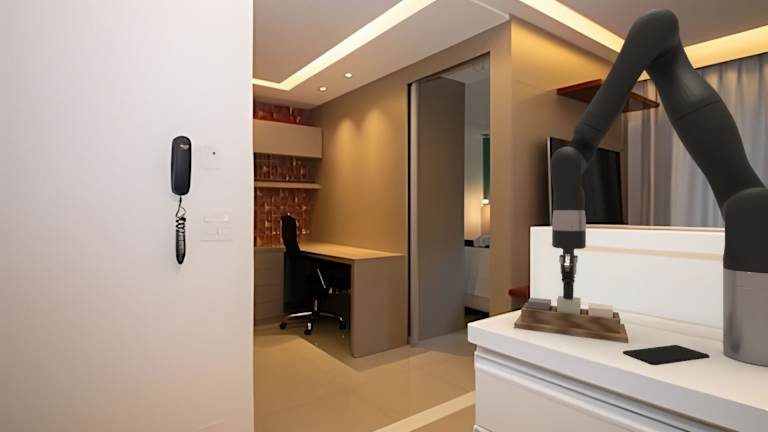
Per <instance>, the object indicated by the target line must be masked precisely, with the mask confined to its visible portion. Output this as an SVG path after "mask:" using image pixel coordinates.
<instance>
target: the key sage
mask: <svg viewBox="0 0 768 432" xmlns="http://www.w3.org/2000/svg"><path fill="white" fill-rule="evenodd" d="M556 306H557V312H561V313H571V314H580V315H581V309H582V308H581V307H582V305H581V297H577V296H576V297H575V296H573V299H564V298H563V295H558V296H557V298H556Z"/></svg>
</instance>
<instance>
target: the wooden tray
mask: <svg viewBox="0 0 768 432" xmlns="http://www.w3.org/2000/svg"><path fill="white" fill-rule="evenodd" d="M513 325H514V327H513V328H515V329H519V330H520V329H521V330H528V331H535V332H541V333H542V332H544V333H552V334H559V335H563V336H564V335H565V336H574V337H580V338H588V339H595V340H604V341H611V342H619V343H625V344H628V343H629V337H628V333H627V329H626V327H625V326H626V325H625V323H621V316H620V313H619V311H617V312H616V311H613V318H607V317H598V316H589V315H588V308H581V315H580V314H571V313H561V312H557V305H551V311H543V310H534V309H528V302H525V304H524V305H523V306H521V309H520V315H519V316H518V317H517V319H516V320H515V322H514V323H513Z"/></svg>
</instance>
